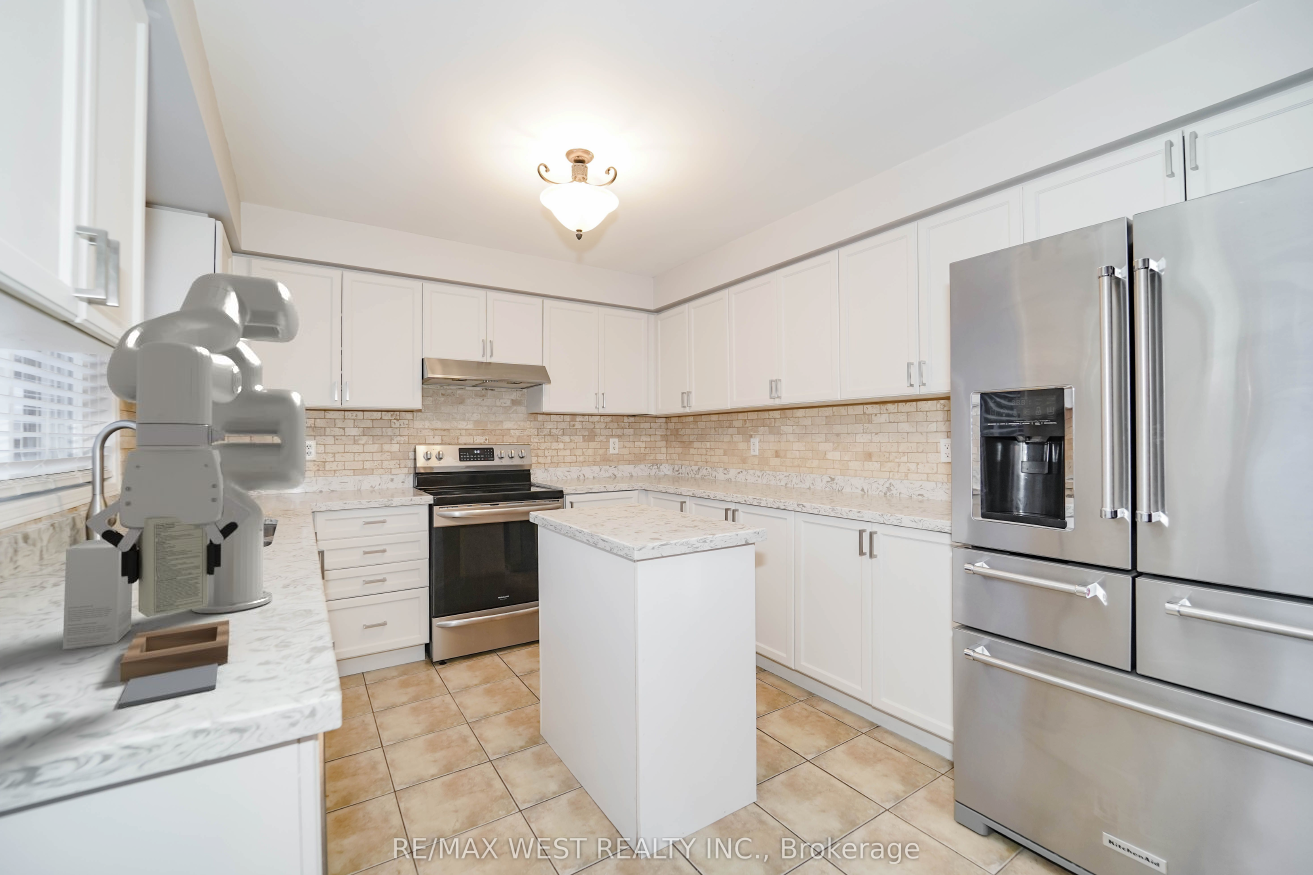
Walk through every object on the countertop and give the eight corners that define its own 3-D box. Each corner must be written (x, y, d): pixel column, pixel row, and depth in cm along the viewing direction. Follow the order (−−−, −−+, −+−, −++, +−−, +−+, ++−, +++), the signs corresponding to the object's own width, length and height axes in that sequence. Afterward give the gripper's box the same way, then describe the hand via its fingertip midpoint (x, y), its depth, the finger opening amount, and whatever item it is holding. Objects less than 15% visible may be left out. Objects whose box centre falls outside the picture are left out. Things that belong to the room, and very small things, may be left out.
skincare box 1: (82, 635, 93) (83, 539, 93) (135, 628, 96) (136, 536, 97) (60, 651, 86) (62, 547, 86) (119, 643, 89) (120, 543, 89)
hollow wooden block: (136, 649, 86) (136, 633, 86) (229, 635, 93) (229, 619, 93) (120, 682, 74) (120, 662, 74) (227, 662, 81) (227, 644, 81)
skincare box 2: (197, 601, 77) (198, 511, 77) (208, 606, 74) (209, 513, 75) (135, 612, 72) (137, 516, 72) (145, 618, 69) (146, 518, 69)
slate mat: (130, 682, 74) (130, 678, 74) (217, 666, 79) (217, 663, 79) (118, 707, 67) (118, 703, 67) (215, 688, 72) (215, 684, 72)
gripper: (256, 440, 82) (255, 564, 81) (87, 439, 71) (85, 581, 71) (257, 439, 76) (256, 573, 75) (73, 438, 65) (70, 593, 65)
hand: (173, 576), depth 73 cm, fingers closed on skincare box 2, 7 cm apart
